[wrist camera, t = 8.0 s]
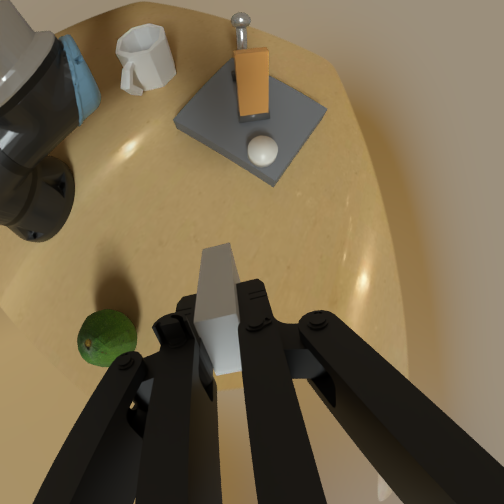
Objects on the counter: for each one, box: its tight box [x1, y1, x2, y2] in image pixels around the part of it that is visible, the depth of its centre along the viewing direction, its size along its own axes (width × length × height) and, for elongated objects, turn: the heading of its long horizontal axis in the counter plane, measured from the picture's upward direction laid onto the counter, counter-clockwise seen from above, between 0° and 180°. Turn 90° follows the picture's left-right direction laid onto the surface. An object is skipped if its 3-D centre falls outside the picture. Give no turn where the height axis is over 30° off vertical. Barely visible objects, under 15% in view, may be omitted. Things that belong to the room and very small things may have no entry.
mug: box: [116, 23, 176, 96], centre depth 37 cm, size 12×9×10 cm
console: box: [173, 58, 327, 187], centre depth 41 cm, size 18×15×3 cm
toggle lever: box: [231, 12, 251, 81], centre depth 33 cm, size 4×3×12 cm
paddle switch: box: [234, 47, 270, 123], centre depth 33 cm, size 4×2×12 cm, turn 101°
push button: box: [248, 136, 278, 168], centre depth 38 cm, size 4×4×2 cm
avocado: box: [77, 309, 137, 367], centre depth 34 cm, size 8×8×12 cm
